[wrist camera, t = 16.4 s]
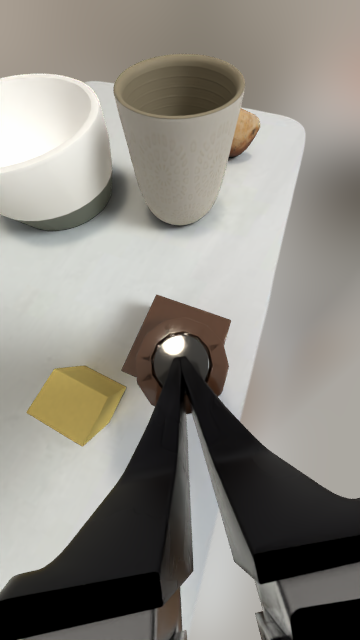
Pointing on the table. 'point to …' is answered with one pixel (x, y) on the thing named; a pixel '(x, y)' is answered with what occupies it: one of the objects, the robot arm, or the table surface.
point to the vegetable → (244, 132)
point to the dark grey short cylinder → (178, 348)
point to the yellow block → (77, 402)
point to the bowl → (52, 151)
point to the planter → (179, 130)
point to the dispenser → (172, 321)
